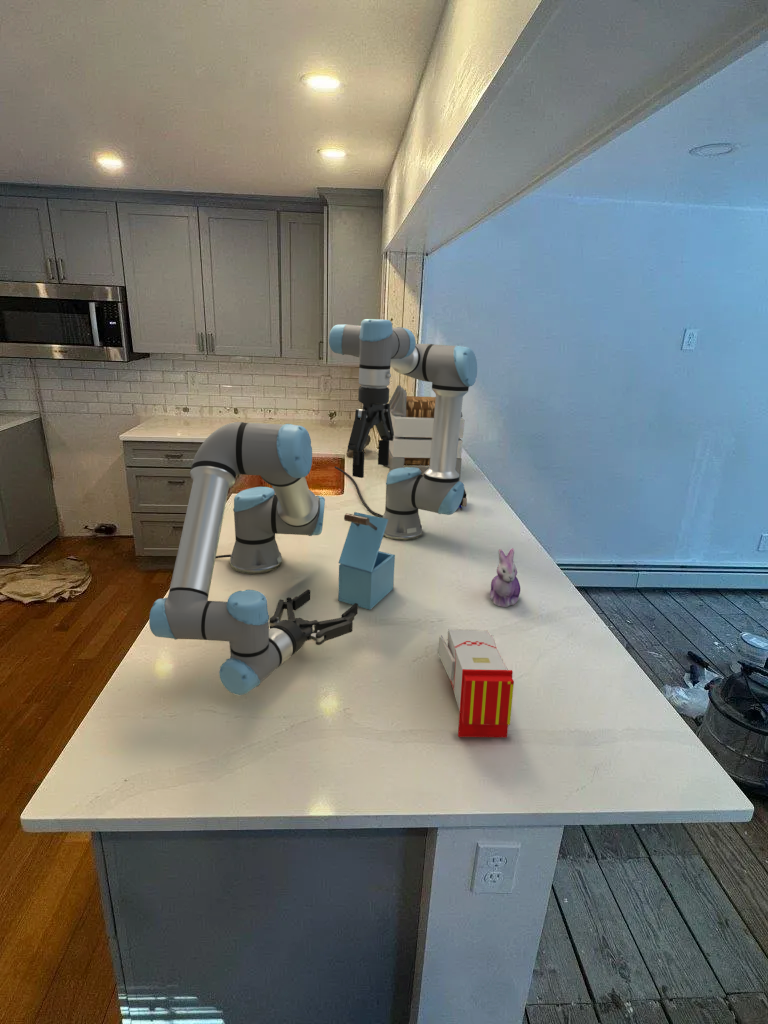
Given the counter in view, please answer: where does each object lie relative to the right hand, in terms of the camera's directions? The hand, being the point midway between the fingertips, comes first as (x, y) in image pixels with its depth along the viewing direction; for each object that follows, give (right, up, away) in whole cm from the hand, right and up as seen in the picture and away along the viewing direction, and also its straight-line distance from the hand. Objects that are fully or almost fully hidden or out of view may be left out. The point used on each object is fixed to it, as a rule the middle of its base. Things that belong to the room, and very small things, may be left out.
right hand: (371, 470), depth 145 cm
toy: (+21, -48, -26) cm, 59 cm away
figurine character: (+33, -8, +86) cm, 92 cm away
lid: (-2, -18, +4) cm, 19 cm away
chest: (-2, -33, +12) cm, 36 cm away
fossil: (-11, +21, +162) cm, 164 cm away
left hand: (-9, -32, -5) cm, 34 cm away
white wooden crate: (+21, +8, +130) cm, 132 cm away
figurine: (+37, -35, +12) cm, 52 cm away
